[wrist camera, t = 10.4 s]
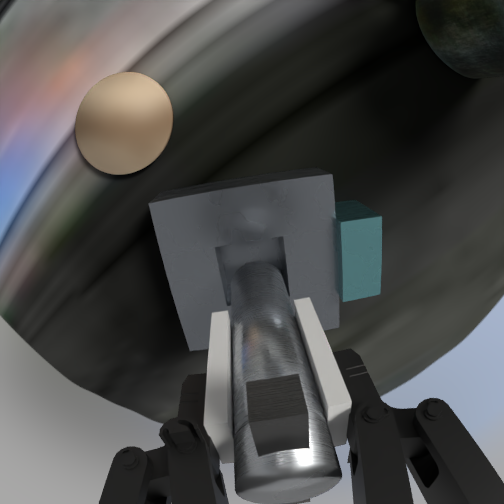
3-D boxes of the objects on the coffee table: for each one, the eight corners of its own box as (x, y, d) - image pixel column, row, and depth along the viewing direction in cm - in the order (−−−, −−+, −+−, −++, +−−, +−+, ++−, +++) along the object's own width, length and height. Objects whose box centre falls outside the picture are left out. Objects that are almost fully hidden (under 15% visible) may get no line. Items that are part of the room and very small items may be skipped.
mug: (468, 105, 21) (566, 112, 10) (357, -11, 18) (430, -76, 6) (503, 46, 19) (585, 40, 8) (409, -57, 15) (476, -105, 4)
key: (240, 330, 20) (251, 519, 8) (222, 240, 18) (209, 443, 6) (287, 322, 20) (335, 506, 8) (277, 231, 18) (351, 420, 6)
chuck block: (161, 191, 23) (144, 207, 19) (352, 163, 23) (379, 172, 19) (194, 323, 28) (188, 359, 23) (357, 296, 28) (377, 326, 23)
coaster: (72, 91, 19) (69, 90, 19) (165, 61, 19) (163, 60, 19) (88, 183, 22) (85, 185, 22) (181, 161, 22) (180, 162, 22)
